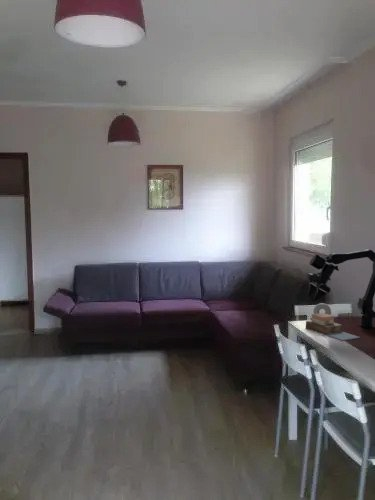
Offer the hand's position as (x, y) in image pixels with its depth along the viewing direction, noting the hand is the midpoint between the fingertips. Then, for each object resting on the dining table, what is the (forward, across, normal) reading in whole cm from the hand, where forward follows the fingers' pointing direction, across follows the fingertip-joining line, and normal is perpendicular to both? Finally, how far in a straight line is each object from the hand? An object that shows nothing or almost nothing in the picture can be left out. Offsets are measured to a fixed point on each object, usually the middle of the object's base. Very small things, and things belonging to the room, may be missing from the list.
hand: (311, 298), depth 247 cm
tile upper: (+6, +9, +7) cm, 13 cm away
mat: (+8, +22, +15) cm, 28 cm away
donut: (+9, -12, +18) cm, 23 cm away
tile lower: (+8, +9, +8) cm, 15 cm away
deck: (+11, +10, +10) cm, 18 cm away
